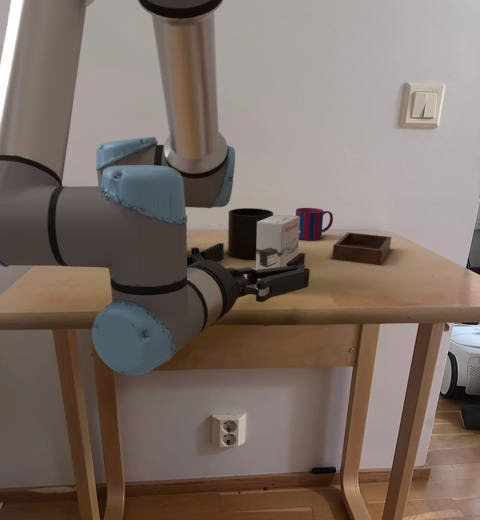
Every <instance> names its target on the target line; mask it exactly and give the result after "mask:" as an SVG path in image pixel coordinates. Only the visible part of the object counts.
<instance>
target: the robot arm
mask: <svg viewBox="0 0 480 520" xmlns="http://www.w3.org/2000/svg"><path fill="white" fill-rule="evenodd" d="M94 1H95V0H10V2H9V7H8V12H7V18H6V23H5V29H4V33H3V34H4V35H3V40H2V45H1V51H0V267H3V268H8V267H9V266H21V267H22V266H25V267H26V266H27V267H28V266H29V267H30V266H33V267H35V266H37V267H39V266H42V267H46V266H47V267H51V266H52V267H57V266H58V267H72V268H73V267H74V268H78V267H79V268H106V269H108V272H109V280H110V291H111V292H110V293H111V301H112V302H110V303H109V304H107V305H105V307H104V308H103V309H102V310H100V311H99V313H97V314H96V317H95V319H94V322H93V325H92V327H91V340H92V343H93V347H94V349H95V352H96V353H97V355H98V356H99V358H100V359H101V360H102V362H103V363H104V364H105V365H106V366H107V367H109V369H111V370H112V371H114V372H117V373H118V374H121V375H124V376H126V377H140V376H143V375H146V374H148V373H150V372H151V371H153V370H154V369H156V368H158V367H159V366H161V365H162V364H163V365H164V364H165V363H167V362H169V361H170V360H172V358H173V356H174V355H176V354H177V353H178V352H179V351H180V350H181V349H183V348H184V347H185V346H187V344H189V343H190V342H191V341H193V340H194V339H195V338H197V337H198V336H199V335H200V334H201V333H203V332H204V331H205V330H207V329H208V328H209V327H210V326H211V325H213V324H214V323H216V322H217V321H219V320H220V319H221V318H222V317H224V316H225V315H227V314H228V313H229V312H230V311H231V310H232V308H233V307H234V305H235V304H236V302H237V300H238V299H239V298H242V297H245V296H248V295H249V296H250V295H254V296H255V301H256V302H258V303H264V302H267V301H268V300H270V299H271V298H274V297H278V296H281V295H286V294H289V293H293V292H296V291H299V290H303V289H306V288H309V285H310V273H311V270H310V268H307V267H306V264H305V261H306V259H305V258H306V253H304V252H299V253H298V255H297V256H296V257H294V258H293V259H292V260H290V261H289V262H288V263H287V266H284V267H276V268H268V269H260V270H256V269H254V268H252V267H250V266H248V267H241V268H235V267H225V266H224V265H223V264H221V262H222V261H224V254H225V253H224V246H225V245H224V242H223V243H222V242H218V243H216V244H214V245H212V246H209V247H207V248H206V249H204V250H201V251H200V247H191V249H190V254H191V255H188V236H187V235H188V234H187V232H188V231H187V229H188V226H187V225H188V224H187V222H188V215H187V211H186V210H187V209H186V208H195V209H196V208H199V209H212V208H223V207H226V206H227V205H228V204H229V203H230V200H231V197H232V192H233V187H234V185H233V184H234V175H235V166H236V151H235V148H234V147H233V146H230V145H228V144H227V143H228V142H227V140H226V138H225V136H224V135H223V134H222V133H221V132H220V131H219V106H218V81H217V80H218V79H217V76H218V75H217V55H216V53H217V51H216V50H217V49H216V25H215V23H216V22H215V12H216V11H217V10H218V9H219V8H220V7H221V5H222V4H223V2H224V0H137V2H138V4H139V6H140V7H141V8H142V9H143V10H144V11H145V12H146V13H148V14H149V15H150V16H151V20H152V26H153V33H154V40H155V46H156V54H157V60H158V67H159V72H160V73H159V74H160V79H161V85H162V93H163V100H164V105H165V113H166V118H167V126H168V132H169V135H168V137H166V140H165V142H164V144H158V143H159V141H158V140H157V138H156V137H155V136H147V137H137V138H129V139H120V140H112V141H105V142H102V143H100V144H99V145H98V146H97V148H96V150H95V151H96V152H95V154H96V155H95V157H96V167H95V171H96V174H97V175H96V177H97V185H96V186H95V185H94V186H90V185H89V186H67V185H65V186H63V178H64V172H65V166H66V165H65V164H66V156H67V150H68V143H69V137H70V136H69V135H70V128H71V120H72V114H73V107H74V100H75V94H76V92H75V91H76V85H77V78H78V71H79V64H80V59H81V58H80V57H81V51H82V42H83V37H84V28H85V21H86V16H87V15H86V14H87V8H88V7H90V6H91V5H92V4H93V3H94ZM245 275H246V277H245Z"/></svg>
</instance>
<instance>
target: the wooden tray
mask: <svg viewBox="0 0 480 520" xmlns="http://www.w3.org/2000/svg"><path fill="white" fill-rule="evenodd" d="M391 242H392V236H387V235H378V234H369V233H368V234H367V233H360V232H359V233H358V232H349V231H348V232H346V233H345V234H344V235H343V236H342V237H340V238H339V239H338V240H337V241H336V242H335V243H334V244H333V246H332V247H333V248H332V256H331V257H332V258H331V259H332V260H340V261H347V262H355V263H361V264H362V263H364V264H370V265H380V266H381V265H382V263H383V261H384V260H385V258H386V256H387V255H388V253H389V251H390V250H391Z"/></svg>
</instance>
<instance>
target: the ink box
mask: <svg viewBox="0 0 480 520" xmlns="http://www.w3.org/2000/svg"><path fill="white" fill-rule="evenodd" d="M299 224H300V217H299V216H296V215H289V214H273V216H271V217H268V218H266V219H263V220H261V221H258V222H257V250H256V259H255V270H260V269H268V268H276V267H284V266H287V263H288V262H289V261H290V260H292V259H293V258H294V257H296V256H297V255H298V254H299V253H298V252H299V240H300V239H299Z"/></svg>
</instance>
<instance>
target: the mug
mask: <svg viewBox="0 0 480 520" xmlns="http://www.w3.org/2000/svg"><path fill="white" fill-rule="evenodd" d="M273 215H274V211H272V210H269V209H265V208H253V207H243V208H242V207H241V208H233V209H230V210H229V211H228V226H227V227H228V232H227V233H228V234H227V235H228V236H227V241H228V242H227V252H228V254H229V255H230V256H232V257H234V258H238V259H243V260H244V259H245V260H256V250H257V222H258V221H261V220H263V219H266V218H268V217H271V216H273Z"/></svg>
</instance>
